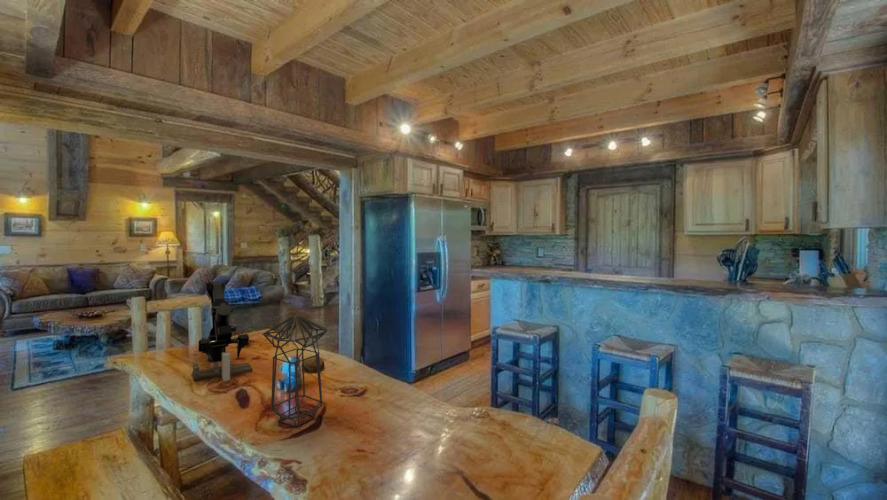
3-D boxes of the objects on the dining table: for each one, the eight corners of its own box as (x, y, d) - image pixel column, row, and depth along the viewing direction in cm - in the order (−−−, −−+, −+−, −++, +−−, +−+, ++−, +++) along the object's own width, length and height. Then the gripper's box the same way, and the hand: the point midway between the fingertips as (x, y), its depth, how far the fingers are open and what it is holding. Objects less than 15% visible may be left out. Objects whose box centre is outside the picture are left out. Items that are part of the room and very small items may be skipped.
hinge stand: (192, 373, 170) (192, 362, 170) (248, 364, 183) (248, 353, 182) (194, 381, 161) (194, 369, 161) (252, 371, 174) (252, 360, 173)
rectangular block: (221, 378, 165) (221, 352, 164) (230, 376, 167) (230, 351, 166) (223, 381, 161) (223, 355, 160) (232, 380, 163) (232, 354, 162)
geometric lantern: (331, 416, 131) (331, 313, 129) (292, 437, 118) (291, 323, 115) (300, 405, 139) (299, 308, 137) (259, 423, 125) (258, 316, 123)
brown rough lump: (299, 378, 176) (294, 364, 172) (312, 362, 185) (307, 349, 181) (318, 380, 173) (313, 367, 169) (330, 364, 182) (325, 351, 178)
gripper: (198, 320, 161) (200, 353, 153) (248, 315, 172) (252, 346, 163) (197, 335, 168) (199, 367, 159) (245, 330, 179) (249, 359, 170)
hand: (225, 359), depth 163 cm, fingers open, 9 cm apart
